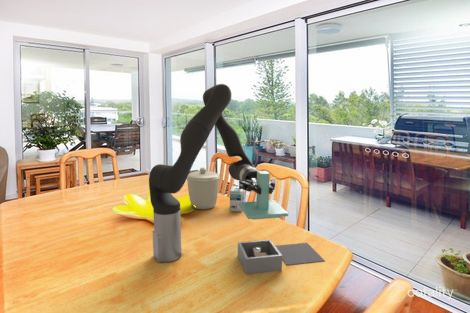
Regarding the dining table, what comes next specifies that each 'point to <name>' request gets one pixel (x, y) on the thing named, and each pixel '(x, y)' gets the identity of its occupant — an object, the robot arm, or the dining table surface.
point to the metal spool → (256, 250)
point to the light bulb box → (237, 198)
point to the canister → (203, 188)
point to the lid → (262, 202)
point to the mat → (298, 254)
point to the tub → (259, 263)
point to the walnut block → (260, 254)
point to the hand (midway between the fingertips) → (265, 191)
